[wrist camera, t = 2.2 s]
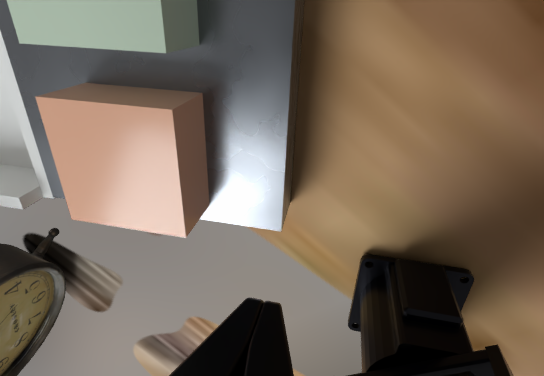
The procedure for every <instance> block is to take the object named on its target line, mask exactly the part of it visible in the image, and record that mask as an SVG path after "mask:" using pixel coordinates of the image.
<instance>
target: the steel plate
mask: <svg viewBox="0 0 544 376" xmlns="http://www.w3.org/2000/svg"><path fill="white" fill-rule="evenodd" d="M197 12H198V28H199V46H195V47H191V48H186V49H182V50H178V51H174V52H169V53H155V52H140V51H125V50H110V49H95V48H81V47H66V46H51V45H36V44H21V43H19V40H18V37H17V33H16V30H15V27H14V23H13V20H12V17H11V13H10V10H9V7H8V3H7V0H0V31H1V34H2V37H3V40H4V44H5V47H6V50H7V53H8V56H9V59H10V63H11V66H12V69H13V72H14V75H15V78H16V82H17V85H18V88H19V91H20V94H21V97H22V100H23V104H24V107H25V110H26V113H27V116H28V119H29V123H30V126H31V129H32V132H33V135H34V138H35V142H36V145H37V148H38V151H39V154H40V157H41V161H42V164H43V167H44V170H45V173H46V176H47V180H48V183H49V186H50V189H51V192H52V195H53V197H56V198H63V199H65V195H64V192H63V189H62V185H61V182H60V178H59V175H58V172H57V168H56V165H55V162H54V158H53V155H52V151H51V148H50V145H49V141H48V138H47V135H46V131H45V128H44V124H43V121H42V118H41V114H40V111H39V108H38V104H37V101H36V98H35V97H36V96H39V95H43V94H46V93H50V92H54V91H57V90H61V89H65V88H68V87H72V86H76V85H79V84H83V83H94V84H106V85H117V86H129V87H141V88H152V89H164V90H176V91H187V92H199V93H203V109H204V125H205V142H206V158H207V174H208V190H209V207H208V208H207V209H206V211H205V212H204V214H203V215H202V216H201V218H200V219H202V220H209V221H216V222H223V223H229V224H236V225H242V226H249V227H255V228H262V229H269V230H275V231H282V227H283V224H284V221H285V218H286V215H287V211H288V208H289V205H290V197H291V183H292V169H293V155H294V141H295V126H296V112H297V98H298V84H299V70H300V56H301V42H302V28H303V14H304V0H197Z"/></svg>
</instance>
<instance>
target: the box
mask: <svg viewBox="0 0 544 376" xmlns="http://www.w3.org/2000/svg"><path fill="white" fill-rule="evenodd" d="M43 197H44V198H51V199H55V198H56V197H53V195H52V192H51V189H50V186H49V183H48V180H47V176H46V173H45V170H44V167H43V164H42V161H41V157H40V154H39V151H38V148H37V145H36V142H35V138H34V135H33V132H32V129H31V126H30V123H29V119H28V116H27V113H26V110H25V107H24V104H23V100H22V97H21V94H20V91H19V88H18V85H17V82H16V78H15V75H14V72H13V69H12V66H11V63H10V59H9V56H8V53H7V50H6V47H5V44H4V40H3V37H2V34H1V31H0V206H4V207H10V208H16V209H22V210H23V209H25V208H27V207H28V206H30V205H32V204H33V203H35V202H36V201H38V200H40V199H41V198H43Z"/></svg>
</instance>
